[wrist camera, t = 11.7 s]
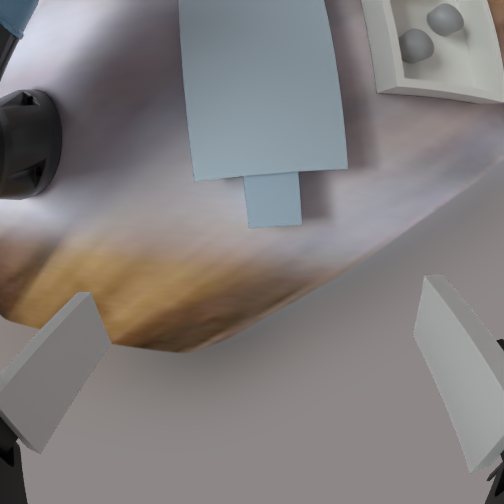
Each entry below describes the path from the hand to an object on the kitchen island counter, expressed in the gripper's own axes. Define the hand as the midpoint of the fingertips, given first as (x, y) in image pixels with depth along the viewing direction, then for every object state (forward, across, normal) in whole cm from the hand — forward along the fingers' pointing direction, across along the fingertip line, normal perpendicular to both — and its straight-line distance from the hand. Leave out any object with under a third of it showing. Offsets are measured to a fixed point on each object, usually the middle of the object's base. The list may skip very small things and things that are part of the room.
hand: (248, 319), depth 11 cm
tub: (+22, +18, +20) cm, 34 cm away
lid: (+22, 0, +10) cm, 25 cm away
